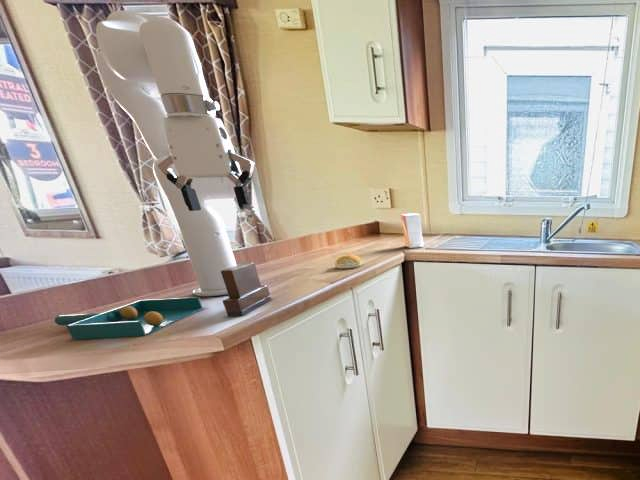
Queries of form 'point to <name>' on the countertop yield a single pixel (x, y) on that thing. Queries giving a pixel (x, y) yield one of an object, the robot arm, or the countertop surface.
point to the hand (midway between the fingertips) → (220, 209)
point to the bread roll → (348, 261)
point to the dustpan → (117, 326)
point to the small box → (412, 230)
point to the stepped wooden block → (243, 289)
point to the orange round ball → (128, 312)
